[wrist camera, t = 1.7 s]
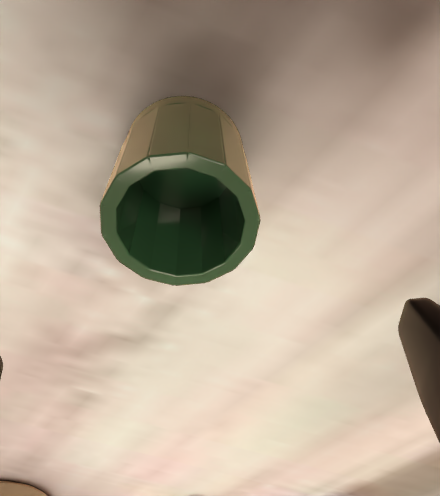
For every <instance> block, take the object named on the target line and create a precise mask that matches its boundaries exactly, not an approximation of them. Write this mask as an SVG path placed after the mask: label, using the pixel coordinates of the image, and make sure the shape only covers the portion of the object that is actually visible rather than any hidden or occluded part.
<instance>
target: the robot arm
mask: <svg viewBox="0 0 440 496" xmlns="http://www.w3.org/2000/svg"><path fill="white" fill-rule="evenodd" d="M398 331H399V336H400V339H401V342H402V345H403V348H404V351H405V354H406V357H407V360H408V364H409V367H410V370H411V373H412V376H413V379H414V382H415V385H416V388H417V391H418V394H419V397H420V399H421V402H422V404H423V407H424V409H425V412H426V414H427V416H428V418H429V420H430V423H431V425H432V427H433V429H434V431H435V434H436V436H437V438H438V440H439V442H440V306H439V305H438V304H436V303H435V302H433V301H432V300H430V299H428V298H416V299H409V300H407V301H406V303H405V305H404V308H403V312H402V315H401V318H400V322H399V326H398ZM2 370H3V362H2V358H1V356H0V379H1V374H2Z"/></svg>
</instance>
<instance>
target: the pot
mask: <svg viewBox="0 0 440 496" xmlns="http://www.w3.org/2000/svg"><path fill="white" fill-rule="evenodd" d="M100 220H101V233H102V236H103V238H104V240H105V241H106V243H107V244H108V246H109V248H110V249H111V251H112V252H113V254H114V256H115V257H116V259H117V260H118V261H119V262H120V263H122V264H123V265H125V266H126V267H128V268H129V269H131V270H132V271H134V272H135V273H137V274H138V275H140V276H141V277H143V278H145V279H149V280H153V281H157V282H161V283H165V284H169V285H176V286H179V285H190V284H200V283H206V282H210V281H212V280H214V279H216V278H218V277H220V276H222V275H224V274H226V273H229V272H231V271H233V270H234V269H235V268H236V267H237V266H238V265H239V264H240V263H241V262H242V260H243V259H244V258H245V257H246V256H247V255H248V254H249V253H250V251H251V250H252V249H253V247H254V245H255V241H256V237H257V233H258V228H259V224H260V214H259V210H258V205H257V201H256V197H255V193H254V188H253V184H252V180H251V176H250V171H249V167H248V163H247V159H246V155H245V152H244V149H243V144H242V140H241V137H240V134H239V132H238V129H237V127H236V126H235V124H234V122H233V121H232V120H231V119H230V117H229V116H228V115H227V114H226V113H225V112H224V111H223V110H221V109H220V108H219V107H217V106H216V105H214V104H212V103H210V102H208V101H206V100H203V99H200V98H196V97H190V96H175V97H169V98H165V99H162V100H159V101H157V102H155V103H153V104H151V105H150V106H148V107H147V108H145V109H144V110H143V111H142V112H141V113H140V114H139V115H138V116H137V118H136V119H135V120H134V122H133V124H132V125H131V127H130V130H129V132H128V135H127V137H126V139H125V141H124V143H123V145H122V147H121V150H120V152H119V155H118V158H117V160H116V163H115V166H114V168H113V171H112V173H111V176H110V179H109V181H108V184H107V187H106V189H105V192H104V194H103V197H102V200H101V203H100Z"/></svg>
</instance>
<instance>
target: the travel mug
mask: <svg viewBox="0 0 440 496" xmlns="http://www.w3.org/2000/svg"><path fill="white" fill-rule="evenodd" d="M0 496H47V495H46V494H45V493H44V492H42V491H40V490H39V489H37V488H35V487H33V486H30V485H27V484H22V483H16V482H11V481H0Z"/></svg>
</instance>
